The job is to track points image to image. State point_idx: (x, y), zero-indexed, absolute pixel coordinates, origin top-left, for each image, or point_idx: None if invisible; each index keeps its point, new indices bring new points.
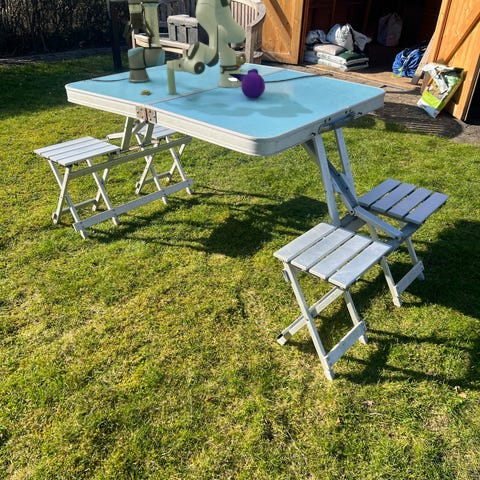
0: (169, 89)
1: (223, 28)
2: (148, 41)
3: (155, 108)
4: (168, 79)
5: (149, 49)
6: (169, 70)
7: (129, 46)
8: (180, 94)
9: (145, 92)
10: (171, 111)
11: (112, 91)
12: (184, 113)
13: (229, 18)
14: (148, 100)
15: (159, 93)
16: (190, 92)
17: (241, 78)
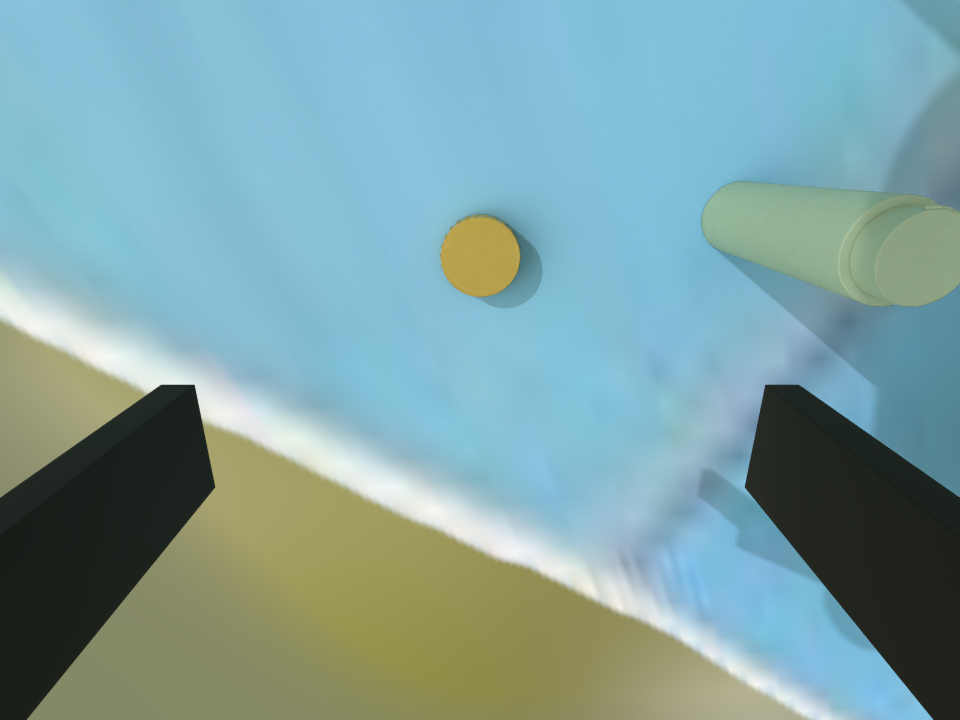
0: (734, 254)
1: None
2: (896, 662)
3: (686, 633)
4: (784, 273)
5: (756, 490)
6: (880, 305)
7: (167, 537)
8: None
9: (494, 293)
10: (797, 676)
11: (98, 174)
12: (877, 701)
13: None
14: (580, 461)
15: (604, 215)
16: (910, 139)
17: None
